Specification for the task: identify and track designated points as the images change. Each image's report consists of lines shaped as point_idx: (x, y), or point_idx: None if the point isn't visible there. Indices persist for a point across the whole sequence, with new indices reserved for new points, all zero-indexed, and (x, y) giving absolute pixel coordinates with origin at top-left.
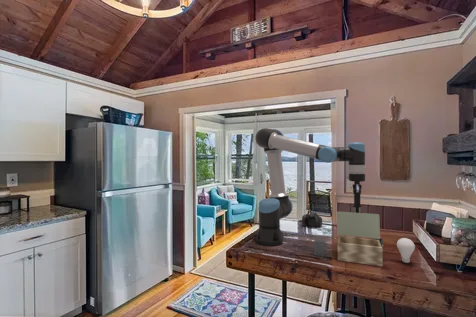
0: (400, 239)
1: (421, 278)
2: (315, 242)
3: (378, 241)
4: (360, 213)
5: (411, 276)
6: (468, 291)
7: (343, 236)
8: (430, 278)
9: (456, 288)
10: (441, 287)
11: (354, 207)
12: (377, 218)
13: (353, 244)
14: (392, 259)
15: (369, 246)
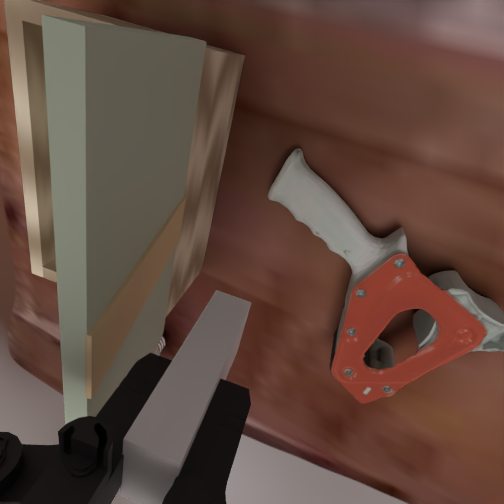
0: None
1: (46, 305)
2: None
3: None
4: (67, 384)
5: (48, 286)
6: (18, 362)
7: None
8: (57, 329)
9: (22, 349)
10: (11, 320)
11: (127, 435)
12: None
13: (22, 126)
14: (183, 307)
15: (27, 217)
